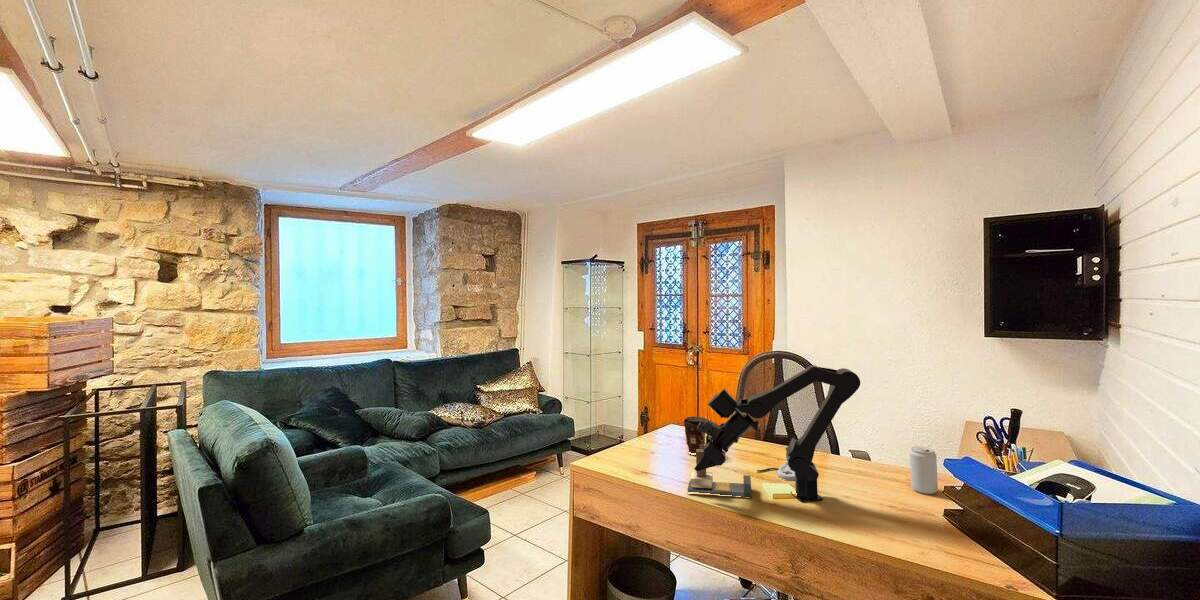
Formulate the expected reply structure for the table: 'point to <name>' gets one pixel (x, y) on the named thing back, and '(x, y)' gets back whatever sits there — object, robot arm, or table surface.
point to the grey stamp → (701, 474)
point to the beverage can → (923, 470)
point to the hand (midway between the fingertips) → (696, 464)
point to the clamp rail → (726, 488)
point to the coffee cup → (693, 434)
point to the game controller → (784, 472)
